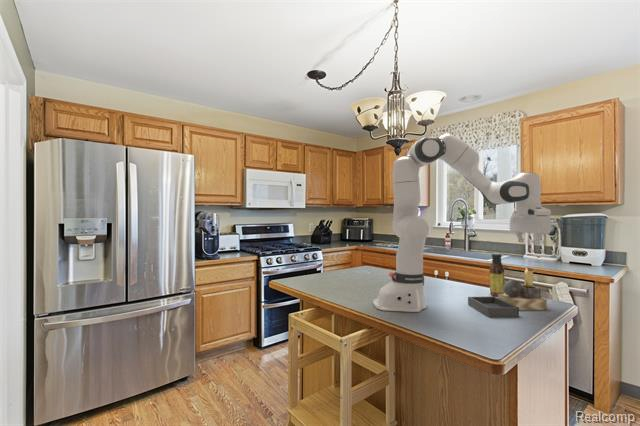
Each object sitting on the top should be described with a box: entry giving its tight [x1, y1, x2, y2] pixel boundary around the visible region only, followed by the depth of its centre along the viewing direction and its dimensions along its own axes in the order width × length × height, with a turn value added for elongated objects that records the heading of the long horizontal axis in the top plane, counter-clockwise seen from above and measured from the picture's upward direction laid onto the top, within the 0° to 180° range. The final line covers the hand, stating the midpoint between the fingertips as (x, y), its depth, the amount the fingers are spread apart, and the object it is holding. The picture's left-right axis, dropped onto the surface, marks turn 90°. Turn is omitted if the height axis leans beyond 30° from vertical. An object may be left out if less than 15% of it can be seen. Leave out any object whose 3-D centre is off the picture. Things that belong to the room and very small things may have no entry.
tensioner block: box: [497, 279, 548, 311], centre depth 132 cm, size 14×10×11 cm
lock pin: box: [523, 267, 534, 288], centre depth 132 cm, size 3×3×12 cm
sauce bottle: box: [489, 252, 506, 297], centre depth 149 cm, size 6×6×20 cm
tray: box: [467, 295, 520, 318], centre depth 127 cm, size 16×12×4 cm
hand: (528, 243), depth 132 cm, fingers open, 8 cm apart
